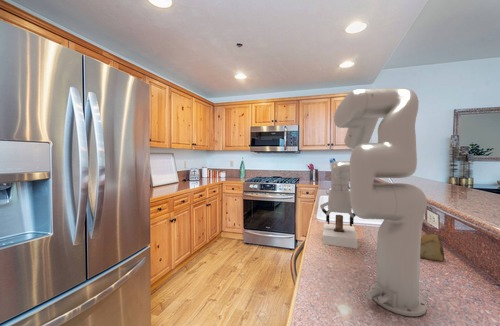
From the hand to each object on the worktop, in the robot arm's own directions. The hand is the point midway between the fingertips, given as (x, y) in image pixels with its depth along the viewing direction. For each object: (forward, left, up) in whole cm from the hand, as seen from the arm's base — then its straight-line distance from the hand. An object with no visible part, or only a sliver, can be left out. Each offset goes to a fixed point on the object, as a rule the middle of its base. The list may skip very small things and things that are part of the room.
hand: (339, 224), depth 102 cm
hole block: (0, 0, -7) cm, 7 cm away
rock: (+17, -27, -7) cm, 33 cm away
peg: (0, 0, -7) cm, 7 cm away
